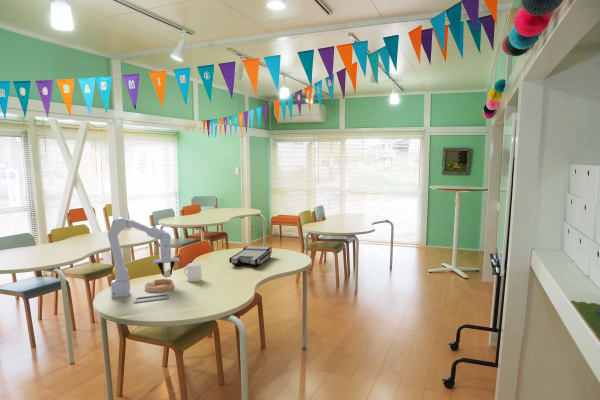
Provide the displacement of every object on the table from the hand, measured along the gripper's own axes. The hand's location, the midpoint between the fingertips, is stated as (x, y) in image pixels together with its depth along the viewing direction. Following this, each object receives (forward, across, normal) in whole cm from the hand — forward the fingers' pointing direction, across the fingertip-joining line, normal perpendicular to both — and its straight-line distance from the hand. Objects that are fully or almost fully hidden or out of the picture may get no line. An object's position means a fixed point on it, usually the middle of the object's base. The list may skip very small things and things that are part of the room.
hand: (167, 274), depth 218 cm
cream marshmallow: (+7, -9, 0) cm, 12 cm away
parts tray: (+8, -8, -18) cm, 21 cm away
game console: (+8, +57, +38) cm, 69 cm away
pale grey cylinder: (+1, 0, 0) cm, 1 cm away
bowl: (+8, -4, 0) cm, 9 cm away
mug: (+8, +14, +10) cm, 19 cm away
